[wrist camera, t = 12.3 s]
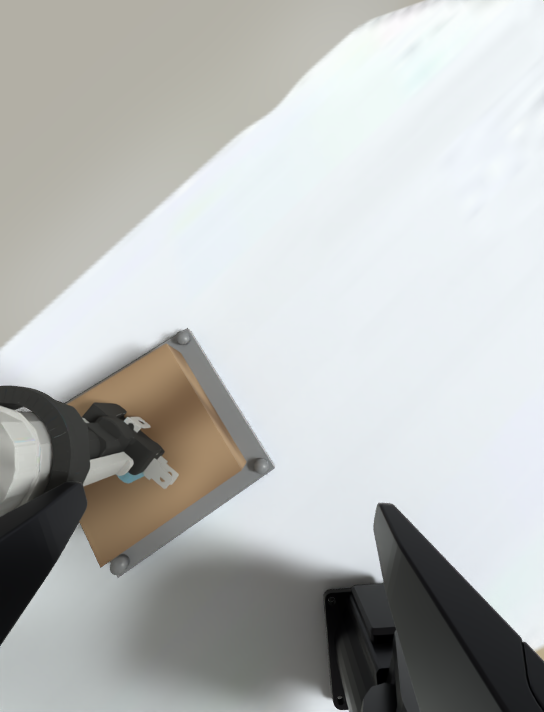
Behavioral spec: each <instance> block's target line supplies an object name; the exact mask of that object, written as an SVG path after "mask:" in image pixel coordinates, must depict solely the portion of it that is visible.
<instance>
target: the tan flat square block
mask: <svg viewBox="0 0 544 712" xmlns="http://www.w3.org/2000/svg"><path fill="white" fill-rule="evenodd" d="M94 402H98V403H114V404H118V405H120V406H121V407H122V408H124V409H125V410H126V411H127V413H126V414H125V415H124V417H125V418H127V417H129V418H130V417H140V418H142V419H143V420H144V421H145V422H147V423H148V424H149V425H150V428H144V429H142V428H141V429H140V430H141V431H142V432H143V433H144V434H146V435H147V436H148V437H149V438H150V439H152V440H153V441H155V442H156V443H158V444H159V445H160V446H161V447H162V448H163V449H164V451H165V452H164V454H163V455H162V457H163V458H164V459H166V460H167V461H168V462H167V463H166V464H168V465H169V466H170V467H171V468H172V469H174V470H175V471H176V472H177V473H178V474H179V476H178V477H177V479H176V480H175V481H174V483H173V484H172V485H169V486H168V487H167V488H166V489H163V488H162V487H161V486H160V485H159V484H157V483H156V482H155V481H154V480H153V479H152V478H151V479H150V480H149V479H147V478H146V477H145V476H144V477H141V478H139V479H137V480H135V481H133V482H132V483H128V484H127V483H124V482H123V481H122V480H120V479H119V478H118V476H117V475H116V474H115V475H112V476H110V477H107V478H104V479H102V480H99V481H97V482H94V483H91V484H89V485H86V486H83V487H84V490H85V494H86V498H87V508H86V511H85V513H84V514H83V516H82V518H81V520H80V521H79V522H80V524H81V526H82V528H83V531H84V533H85V535H86V537H87V539H88V541H89V544H90V546H91V548H92V550H93V552H94V555H95V557H96V559H97V561H98V563H99V565H100V568H101V567H102V566H104V565H105V564H107V563H108V562H110V561H111V560H112V559H114V558H115V557H117V556H118V555H120V554H121V553H123V552H124V551H125V550H127V549H128V548H130V547H131V546H133V545H134V544H136V543H137V542H138V541H140V540H141V539H143V538H144V537H146V536H147V535H149V534H150V533H152V532H153V531H154V530H156V529H157V528H159V527H160V526H162V525H163V524H165V523H166V522H167V521H169V520H170V519H172V518H173V517H175V516H176V515H178V514H179V513H180V512H182V511H183V510H185V509H186V508H188V507H189V506H191V505H192V504H194V503H195V502H196V501H198V500H199V499H201V498H202V497H204V496H205V495H207V494H208V493H209V492H211V491H212V490H214V489H215V488H217V487H218V486H220V485H221V484H222V483H224V482H225V481H227V480H228V479H230V478H231V477H233V476H234V475H236V474H237V473H238V472H240V471H241V470H242V469H243V467H244V466H245V464H246V460H245V458H244V457H243V455H242V453H241V452H240V450H239V448H238V447H237V445H236V443H235V442H234V440H233V438H232V437H231V435H230V433H229V432H228V430H227V429H226V427H225V425H224V424H223V422H222V420H221V419H220V417H219V415H218V414H217V412H216V410H215V409H214V407H213V405H212V404H211V402H210V400H209V399H208V397H207V395H206V394H205V392H204V390H203V389H202V387H201V385H200V384H199V382H198V380H197V379H196V377H195V376H194V374H193V372H192V371H191V369H190V367H189V366H188V364H187V362H186V361H185V359H184V357H183V356H182V354H181V353H180V352H179V351H177V350H176V349H174V348H173V347H171V346H170V345H168V344H164V345H162V346H161V347H159V348H158V349H156V350H154V351H153V352H151V353H149V354H148V355H146V356H145V357H143V358H141V359H140V360H138V361H136V362H135V363H133V364H132V365H130V366H128V367H127V368H125V369H123V370H122V371H120V372H119V373H117V374H115V375H114V376H112V377H110V378H109V379H107V380H106V381H104V382H102V383H101V384H99V385H97V386H96V387H94V388H93V389H91V390H89V391H88V392H86V393H84V394H83V395H81V396H79V397H78V398H76V399H75V400H73V401H71V402H70V403H68V404H67V405H70V406H73V407H74V408H75V409H76V410H77V411H78V413H79V414H80V416H81V417H82V416H83V415H84V414H85V413H86V411H87V410H88V409H89V408H90V407H91V405H92V404H93V403H94ZM139 422H140V423H142V422H141V421H139ZM142 424H143V423H142ZM168 473H169V474H170V475H171V476H172V473H171V472H168ZM160 480H161V482H165V480H163V479H162V478H161V477H160Z"/></svg>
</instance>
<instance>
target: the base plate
mask: <svg viewBox="0 0 544 712" xmlns="http://www.w3.org/2000/svg"><path fill="white" fill-rule="evenodd" d="M164 344H168V345H170V346H171V347H173V348H174V349H176V350H177V351H179V352H180V353H181V354H182V356H183V357H184V359H185V361H186V362H187V364H188V366H189V367H190V369H191V371H192V372H193V374H194V376H195V377H196V379H197V380H198V382H199V384H200V385H201V387H202V389H203V390H204V392H205V394H206V395H207V397H208V399H209V400H210V402H211V404H212V405H213V407H214V409H215V410H216V412H217V414H218V415H219V417H220V419H221V420H222V422H223V424H224V425H225V427H226V429H227V430H228V432H229V433H230V435H231V437H232V438H233V440H234V442H235V443H236V445H237V447H238V448H239V450H240V452H241V453H242V455H243V457H244V458H245V460H246V464H245V466H244V467H243V469H242V470H241V471H240V472H238V473H237V474H236V475H234V476H233V477H231V478H230V479H228V480H227V481H225V482H224V483H222V484H221V485H220V486H218V487H217V488H215V489H214V490H212V491H211V492H209V493H208V494H207V495H205V496H204V497H202V498H201V499H199V500H198V501H196V502H195V503H194V504H192V505H191V506H189V507H188V508H186V509H185V510H183V511H182V512H180V513H179V514H178V515H176V516H175V517H173V518H172V519H170V520H169V521H167V522H166V523H165V524H163V525H162V526H160V527H159V528H157V529H156V530H154V531H153V532H152V533H150V534H149V535H147V536H146V537H144V538H143V539H141V540H140V541H138V542H137V543H136V544H134V545H133V546H131V547H130V548H128V549H127V550H125V551H124V552H123V553H121V554H120V555H118V556H117V557H115V558H114V559H112V560H111V561H110V562H111V565H110V571H111V573H112V574H114V575H117V577H120V576H121V575H123V574H124V573H126V572H127V571H128V570H130V569H131V568H133V567H134V566H136V565H137V564H138V563H140V562H141V561H143V560H144V559H146V558H147V557H148V556H150V555H151V554H153V553H154V552H156V551H157V550H158V549H160V548H161V547H163V546H164V545H166V544H167V543H168V542H170V541H171V540H173V539H174V538H176V537H177V536H178V535H180V534H181V533H183V532H184V531H186V530H187V529H188V528H190V527H191V526H193V525H194V524H196V523H197V522H198V521H200V520H201V519H203V518H204V517H206V516H207V515H208V514H210V513H211V512H213V511H214V510H216V509H217V508H219V507H220V506H221V505H223V504H224V503H226V502H227V501H229V500H230V499H231V498H233V497H234V496H236V495H237V494H239V493H240V492H241V491H243V490H244V489H246V488H247V487H249V486H250V485H251V484H253V483H254V482H256V481H257V480H259V479H260V478H261V477H263V476H264V475H266V474H267V473H269V472H270V471H271V470H273V469H274V468H275V465H274V464H273V462H272V460H271V459H270V457H269V456H268V454H267V452H266V451H265V449H264V448H263V446H262V444H261V443H260V441H259V440H258V438H257V436H256V435H255V433H254V432H253V430H252V428H251V427H250V425H249V423H248V422H247V420H246V419H245V417H244V415H243V414H242V412H241V411H240V409H239V407H238V406H237V404H236V403H235V401H234V399H233V398H232V396H231V395H230V393H229V391H228V390H227V388H226V387H225V385H224V383H223V382H222V380H221V379H220V377H219V375H218V374H217V372H216V371H215V369H214V367H213V366H212V364H211V362H210V361H209V359H208V358H207V356H206V354H205V353H204V351H203V350H202V348H201V346H200V345H199V343H198V342H197V340H196V338H195V337H194V335H193V334H192V332H191V331H190V330H189V329H188V328H187V329H185V330H183V331H181V332H179V333H177V335H175V336H174V337H172V338H170V339H169V340H167V341H165V342H164V343H162V344H161V345H159V346H157V347H156V348H154V349H152V350H151V351H149V352H148V353H146V354H144V355H143V356H141V357H139V358H138V359H136V360H135V361H133V362H131V363H130V364H128V365H126V366H125V367H123V368H121V369H120V370H118V371H117V372H115V373H113V374H112V375H110V376H108V377H107V378H105V379H104V380H102V381H100V382H99V383H97V384H95V385H94V386H92V387H91V388H89V389H87V390H86V391H84V392H82V393H81V394H79V395H77V396H76V397H74V398H73V399H71V400H69V401H68V402H66V403H64V404H68V403H70V402H71V401H73V400H75V399H76V398H78V397H79V396H81V395H83V394H84V393H86V392H88V391H89V390H91V389H93V388H94V387H96V386H97V385H99V384H101V383H102V382H104V381H106V380H107V379H109V378H110V377H112V376H114V375H115V374H117V373H119V372H120V371H122V370H123V369H125V368H127V367H128V366H130V365H132V364H133V363H135V362H136V361H138V360H140V359H141V358H143V357H145V356H146V355H148V354H149V353H151V352H153V351H154V350H156V349H158V348H159V347H161V346H162V345H164Z"/></svg>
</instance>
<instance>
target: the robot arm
mask: <svg viewBox="0 0 544 712" xmlns="http://www.w3.org/2000/svg"><path fill="white" fill-rule="evenodd" d="M86 508H87V498H86V494H85V490H84V487H83V484H82V483H81V482H73V481H68V482H65V483H63V484H61V485H59V486H57V487H55V488H53V489H52V490H50V491H48V492H46V493H44V494H42V495H40V496H38V497H36V498H35V499H33V500H31V501H29V502H27V503H25V504H23V505H21V506H19V507H18V508H16V509H14V510H12V511H10V512H8V513H6V514H4V515H2V516H1V517H0V646H1V644H2V643H3V641H4V640H5V638H6V637H7V635H8V634H9V632H10V631H11V629H12V628H13V626H14V625H15V623H16V622H17V620H18V619H19V617H20V616H21V614H22V613H23V611H24V610H25V608H26V607H27V605H28V604H29V603H30V601H31V600H32V598H33V597H34V595H35V594H36V592H37V591H38V589H39V588H40V586H41V585H42V583H43V582H44V580H45V579H46V577H47V576H48V574H49V573H50V571H51V570H52V568H53V567H54V565H55V563H56V562H57V560H58V558H59V557H60V555H61V553H62V551H63V550H64V548H65V546H66V544H67V543H68V541H69V539H70V537H71V535H72V534H73V532H74V530H75V528H76V527H77V525H78V523H79V521H80V520H81V518H82V516H83V514H84V513H85V511H86ZM373 527H374V535H375V540H376V545H377V551H378V556H379V561H380V566H381V571H382V576H383V581H384V584H369V585H354V586H353V587H352V588H342V589H329V590H327V591H326V592H325V593H324V609H325V621H326V633H327V645H328V656H329V668H330V680H331V692H332V698H333V703H334V705H335V707H336V708H337V709H339V710H349V712H544V661H543V660H542V659H541V658H540V657H539V655H538V654H537V653H536V652H535V651H534V650H533V649H532V648H531V647H530V646H529V645H528V644H527V643H526V642H522V639H521V637H520V636H519V635H518V634H517V633H516V632H515V631H514V630H513V629H512V628H511V626H510V625H509V624H508V623H507V622H506V621H505V620H504V619H503V618H502V617H501V616H500V615H499V614H498V613H497V612H496V611H495V610H494V609H493V608H492V607H491V606H490V605H489V604H488V602H487V601H486V600H485V599H484V598H483V597H482V596H481V595H480V594H479V593H478V592H477V591H476V590H475V589H474V588H473V587H472V586H471V585H470V584H469V583H468V582H467V581H466V580H465V579H464V577H463V576H462V575H461V574H460V573H459V572H458V571H457V570H456V569H455V568H454V567H453V566H452V565H451V564H450V563H449V562H448V561H447V560H446V559H445V558H444V557H443V556H442V555H441V553H440V552H439V551H438V550H437V549H436V548H435V547H434V546H433V545H432V544H431V543H430V542H429V541H428V540H427V539H426V538H425V537H424V536H423V535H422V534H421V533H420V532H419V531H418V530H417V528H416V527H415V526H414V525H413V524H412V523H411V522H410V521H409V520H408V519H407V518H406V517H405V516H404V515H403V514H402V513H401V512H400V511H399V510H398V509H397V508H396V507H395V506H394V505H393V504H390V503H378V505H377V507H376V513H375V518H374V526H373ZM330 597H333V598H334V600H333V601H332V602H330V601H328V599H329V598H330ZM340 695H341V696H343V697H342V698H341V699H338V698H337V697H338V696H340Z"/></svg>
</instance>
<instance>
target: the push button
mask: <svg viewBox="0 0 544 712" xmlns="http://www.w3.org/2000/svg"><path fill="white" fill-rule="evenodd" d="M21 407H26V408H28V409H29V410H31V411H33V412H17V411H15V410H16V409H18V408H21ZM126 413H127V411H126V410H125V409H124V408H122V407H121V406H120V405H118V404H114V403H98V402H94V403H93V404H92V405H91V407H90V408H89V409H88V410H87V411H86V413H85V414H84V415H83V416H82V417H81V416H80V414H79V413H78V411H77V410H76V409H75V408H74V407H73V406H70V405H67V404H64V403H62V402H59V401H56V400H54V399H53V398H51V397H50V396H48V395H47V394H45V393H43V392H40V391H38V390H35V389H31V388H26V387H18V386H0V517H1V516H2V515H4V514H6V513H8V512H10V511H12V510H14V509H16V508H18V507H19V506H21V505H23V504H25V503H27V502H29V501H31V500H33V499H35V498H36V497H38V496H40V495H42V494H44V493H46V492H48V491H50V490H52V489H53V488H55V487H57V486H59V485H61V484H63V483H65V482H68V481H73V482H81V483H82V484H83V486H86V485H89V484H91V483H94V482H97V481H99V480H102V479H104V478H107V477H110V476H112V475H115V474H116V475H117V476H118V478H119V479H120V480H122V481H123V482H124V483H127V484H128V483H132V482H133V481H135V480H137V479H139V478H141V477H144V476H145V477H146V478H147V479H149V480H150V479H151V478H152V479H153V480H154V481H155V482H156V483H157V484H159V485H160V486H161V487H162V488H163V489H166V488H167V487H168V486H169V485H172V484H173V483H174V481H175V480H176V479H177V477H178V476H179V474H178V473H177V472H176V471H175V470H174V469H172V468H171V467H170V466H169V465H168V464H166V463H167V462H168V461H167V460H166V459H164V458H163V457H162V455H163V454H164V452H165V451H164V449H163V448H162V447H161V446H160V445H159V444H158V443H156V442H155V441H153V440H152V439H150V438H149V437H148V436H147V435H146V434H144V433H143V432H142V431H141V430H140V429H141V428H142V429H144V428H150V425H149V424H148V423H147V422H145V421H144V420H143V419H142V418H140V417H130V418H129V417H127V418H125V417H124V415H125V414H126ZM139 421H141V422H142V423H143V424H142V423H140V422H139ZM168 472H171V473H172V476H171V475H170V474H169V473H168ZM160 477H161V478H162V479H163V480H165V482H161V480H160Z"/></svg>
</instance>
